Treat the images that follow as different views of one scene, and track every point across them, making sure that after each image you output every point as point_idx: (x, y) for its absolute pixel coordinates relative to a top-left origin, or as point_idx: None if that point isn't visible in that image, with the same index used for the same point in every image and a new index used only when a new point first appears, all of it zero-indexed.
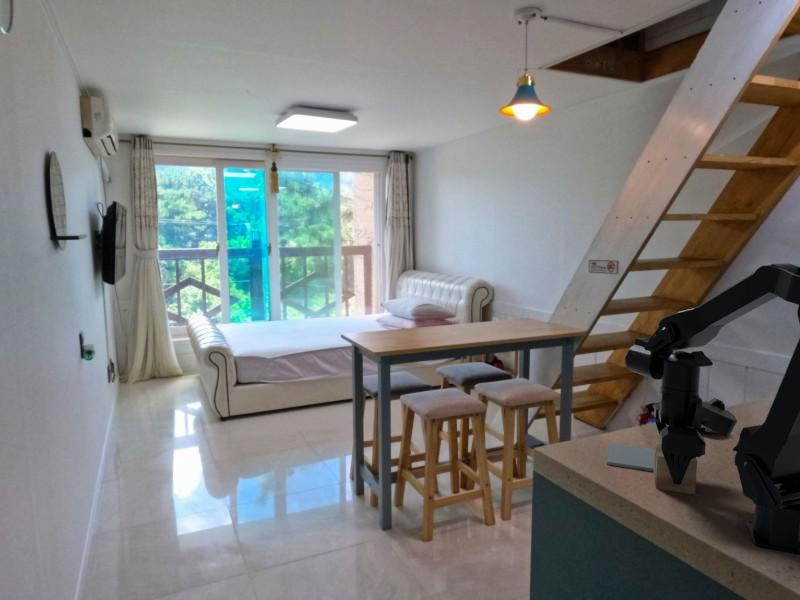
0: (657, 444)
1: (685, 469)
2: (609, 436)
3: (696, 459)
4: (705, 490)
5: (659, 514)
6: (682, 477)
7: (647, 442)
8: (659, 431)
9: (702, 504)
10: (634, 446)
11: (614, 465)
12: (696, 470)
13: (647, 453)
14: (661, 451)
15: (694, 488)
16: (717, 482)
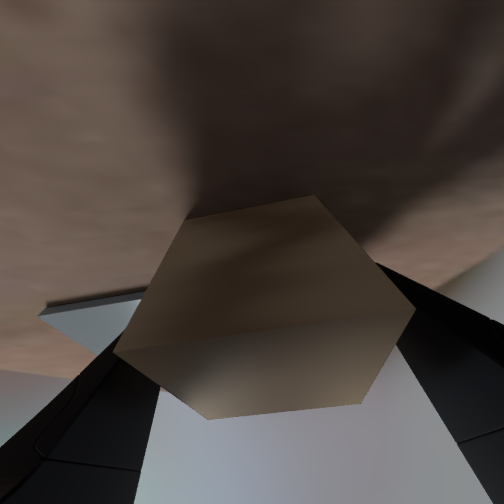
0: (214, 416)
1: (484, 320)
2: None
3: (367, 316)
4: (251, 160)
5: (469, 261)
6: (416, 284)
7: (11, 335)
8: (135, 492)
9: (393, 162)
10: (95, 352)
11: None
12: (368, 256)
13: (109, 332)
14: (296, 404)
15: (324, 207)
16: (112, 106)
